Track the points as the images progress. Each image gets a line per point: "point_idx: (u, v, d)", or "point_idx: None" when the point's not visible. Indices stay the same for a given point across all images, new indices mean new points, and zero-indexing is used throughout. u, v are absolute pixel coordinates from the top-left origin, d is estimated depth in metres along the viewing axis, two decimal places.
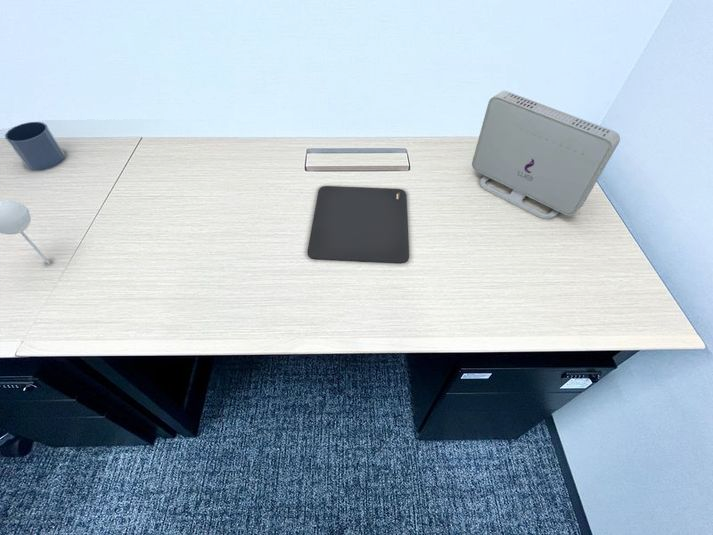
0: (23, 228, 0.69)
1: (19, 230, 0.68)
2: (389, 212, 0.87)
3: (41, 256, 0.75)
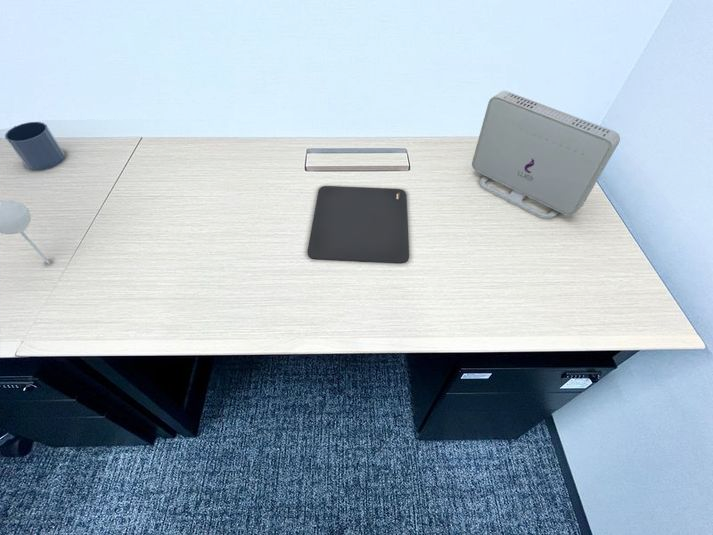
0: (23, 228, 0.69)
1: (19, 230, 0.68)
2: (389, 212, 0.87)
3: (41, 256, 0.75)
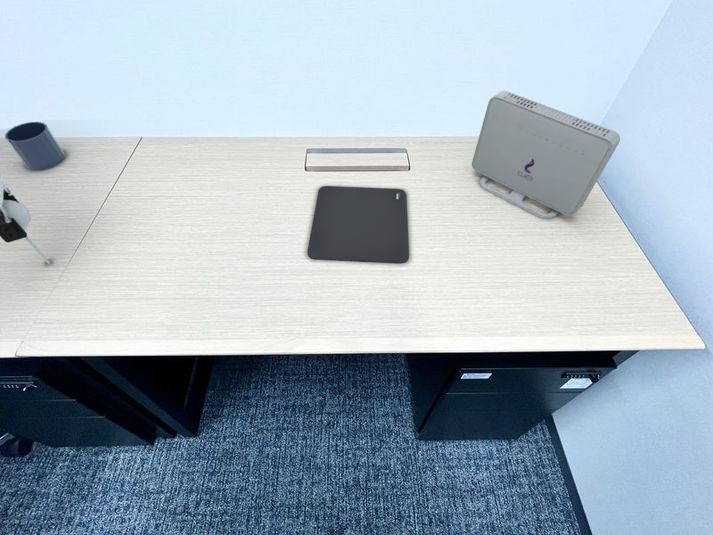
0: (23, 228, 0.69)
1: None
2: (389, 212, 0.87)
3: (41, 256, 0.75)
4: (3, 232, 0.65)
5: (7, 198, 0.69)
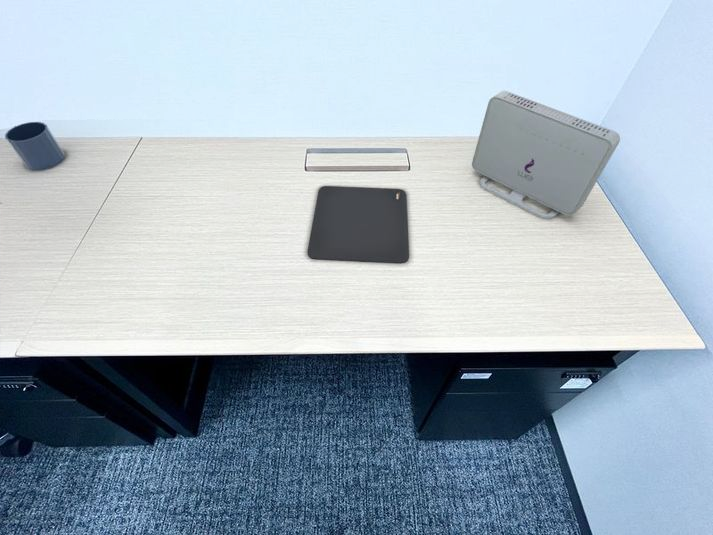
0: None
1: None
2: (389, 212, 0.87)
3: None
4: None
5: None
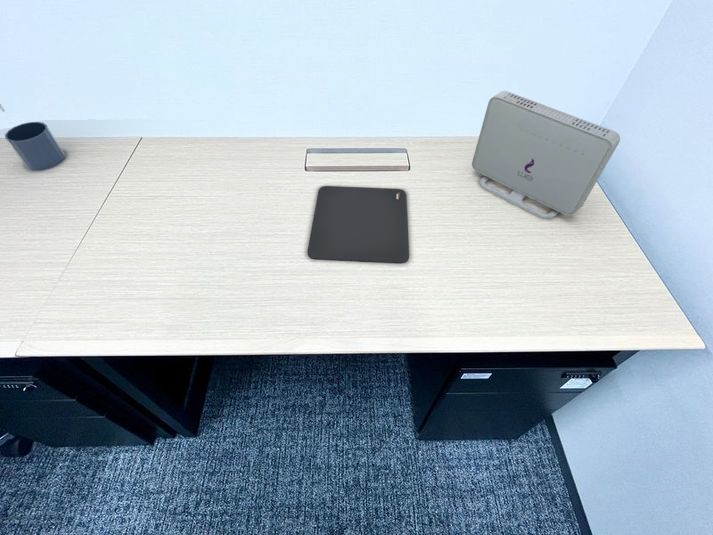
0: None
1: None
2: (389, 212, 0.87)
3: None
4: None
5: None
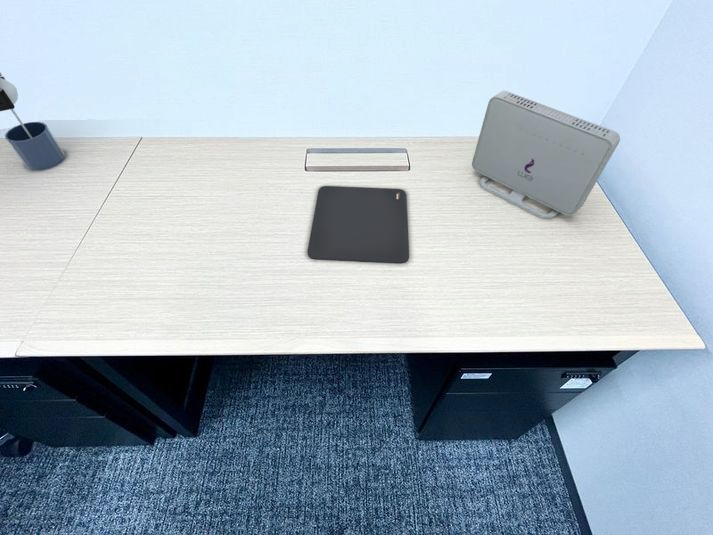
0: (12, 101, 0.86)
1: None
2: (389, 212, 0.87)
3: (27, 133, 0.93)
4: None
5: None
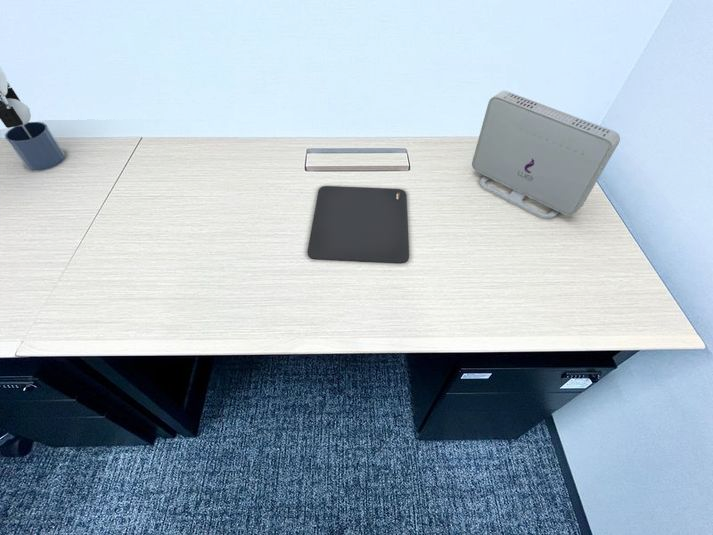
0: (25, 121, 0.90)
1: None
2: (389, 213, 0.87)
3: None
4: (4, 117, 0.85)
5: (7, 89, 0.90)
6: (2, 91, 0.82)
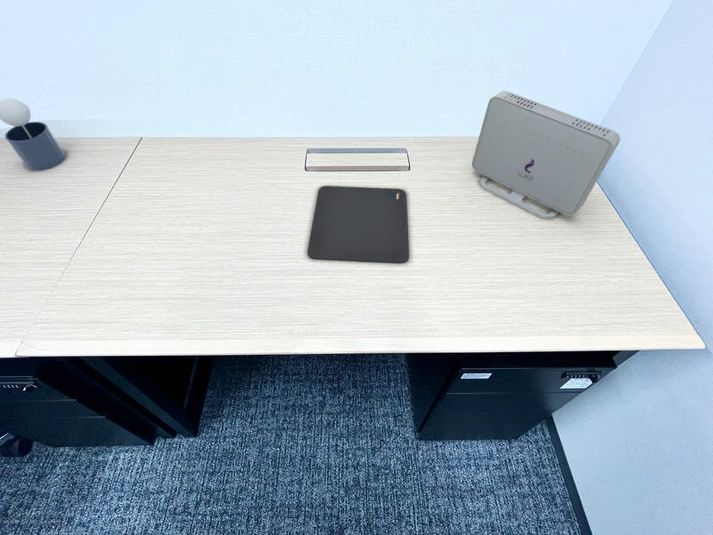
0: (25, 121, 0.90)
1: (22, 122, 0.90)
2: (389, 212, 0.87)
3: None
4: None
5: None
6: None
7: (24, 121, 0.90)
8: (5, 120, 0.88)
